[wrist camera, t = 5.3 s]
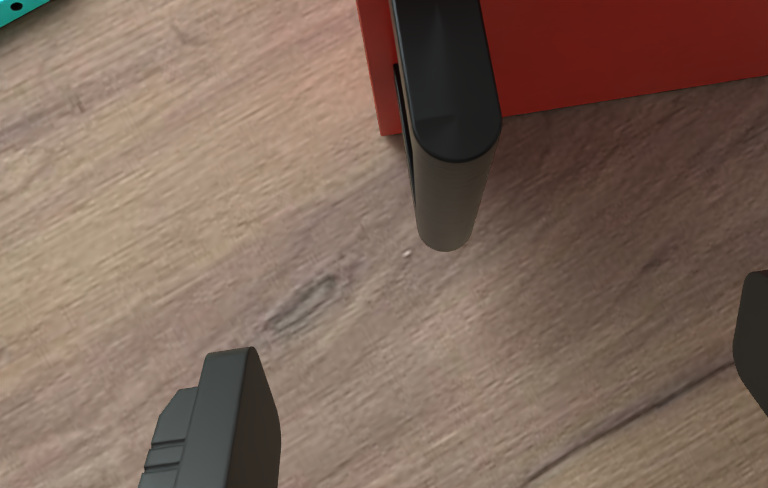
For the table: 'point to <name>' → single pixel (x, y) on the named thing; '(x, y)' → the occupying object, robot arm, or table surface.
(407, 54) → the door
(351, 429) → the table surface
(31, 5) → the handheld game console
